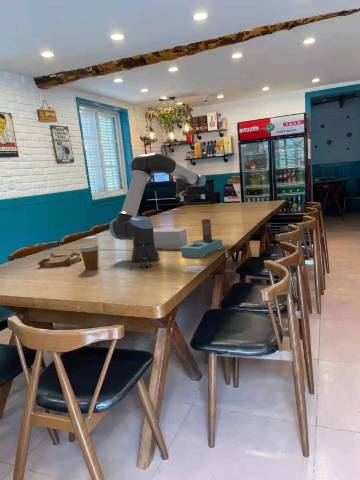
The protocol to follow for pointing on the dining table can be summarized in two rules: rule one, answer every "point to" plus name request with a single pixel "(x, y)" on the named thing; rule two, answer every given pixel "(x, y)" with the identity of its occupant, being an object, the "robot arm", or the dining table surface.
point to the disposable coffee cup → (90, 256)
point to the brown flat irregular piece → (59, 260)
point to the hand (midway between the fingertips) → (193, 197)
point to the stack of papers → (170, 238)
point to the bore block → (200, 248)
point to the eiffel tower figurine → (145, 261)
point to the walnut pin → (206, 231)
